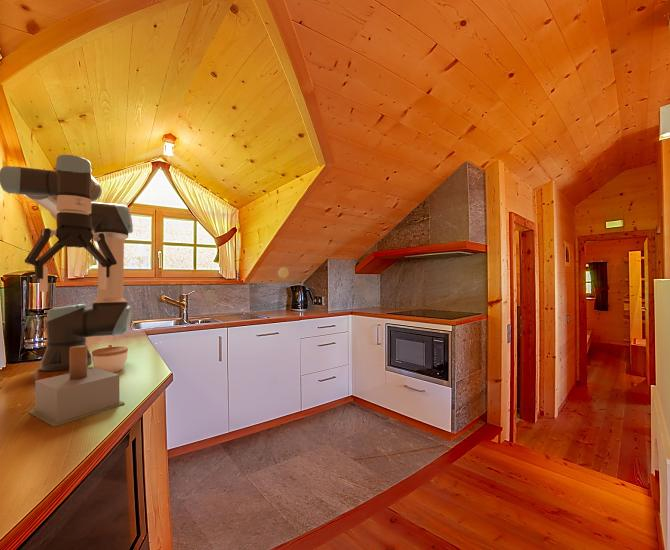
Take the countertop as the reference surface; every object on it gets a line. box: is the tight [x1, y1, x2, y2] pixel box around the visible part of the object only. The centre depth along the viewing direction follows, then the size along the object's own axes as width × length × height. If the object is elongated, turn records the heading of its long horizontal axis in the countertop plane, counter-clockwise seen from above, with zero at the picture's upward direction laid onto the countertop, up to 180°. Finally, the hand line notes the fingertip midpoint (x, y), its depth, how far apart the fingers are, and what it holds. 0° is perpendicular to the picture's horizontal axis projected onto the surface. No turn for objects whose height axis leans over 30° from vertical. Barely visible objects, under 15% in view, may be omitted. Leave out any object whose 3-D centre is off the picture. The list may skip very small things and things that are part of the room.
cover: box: [34, 344, 120, 423], centre depth 83 cm, size 13×13×16 cm
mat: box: [28, 400, 126, 428], centre depth 83 cm, size 15×15×1 cm
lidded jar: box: [91, 344, 129, 373], centre depth 117 cm, size 11×11×9 cm
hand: (75, 290), depth 89 cm, fingers open, 13 cm apart
